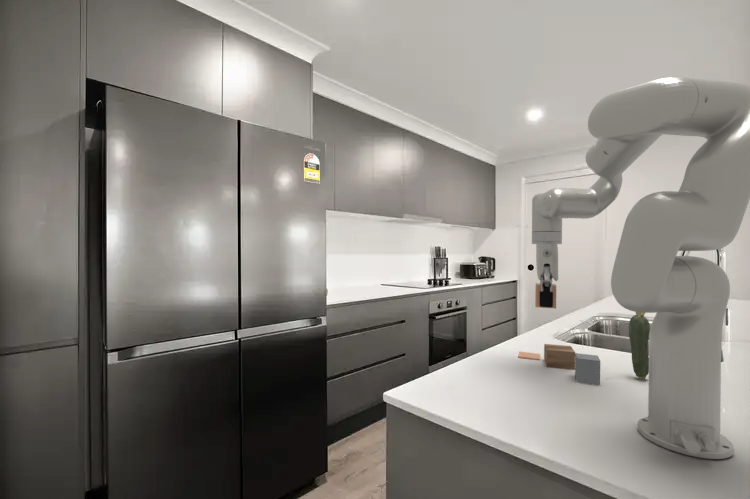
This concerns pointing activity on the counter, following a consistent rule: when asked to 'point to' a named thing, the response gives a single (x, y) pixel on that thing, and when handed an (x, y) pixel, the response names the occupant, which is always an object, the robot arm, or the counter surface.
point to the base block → (559, 356)
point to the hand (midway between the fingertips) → (545, 304)
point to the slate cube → (587, 369)
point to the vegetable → (639, 344)
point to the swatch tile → (529, 355)
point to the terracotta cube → (537, 295)
